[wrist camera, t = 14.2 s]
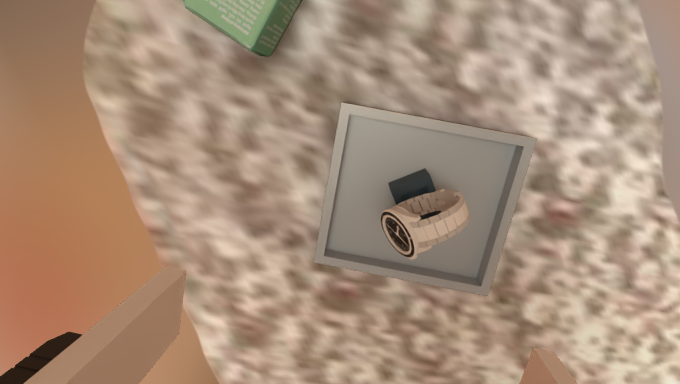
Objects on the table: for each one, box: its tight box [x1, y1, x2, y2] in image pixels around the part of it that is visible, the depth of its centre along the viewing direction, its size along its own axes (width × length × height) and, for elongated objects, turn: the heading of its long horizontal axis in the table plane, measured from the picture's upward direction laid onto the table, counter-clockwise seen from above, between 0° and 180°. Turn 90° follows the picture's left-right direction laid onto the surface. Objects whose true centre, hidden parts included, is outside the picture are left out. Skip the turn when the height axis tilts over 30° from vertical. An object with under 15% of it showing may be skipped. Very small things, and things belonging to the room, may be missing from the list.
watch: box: [380, 168, 470, 260], centre depth 36 cm, size 6×8×11 cm
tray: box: [314, 102, 537, 296], centre depth 41 cm, size 18×20×2 cm
